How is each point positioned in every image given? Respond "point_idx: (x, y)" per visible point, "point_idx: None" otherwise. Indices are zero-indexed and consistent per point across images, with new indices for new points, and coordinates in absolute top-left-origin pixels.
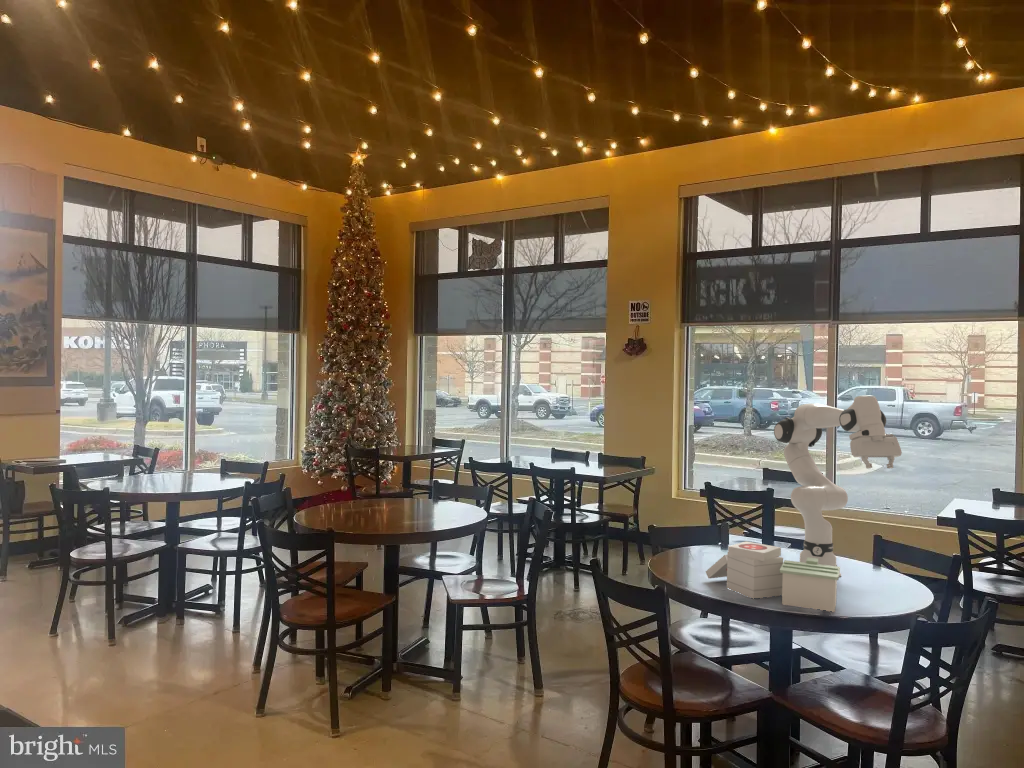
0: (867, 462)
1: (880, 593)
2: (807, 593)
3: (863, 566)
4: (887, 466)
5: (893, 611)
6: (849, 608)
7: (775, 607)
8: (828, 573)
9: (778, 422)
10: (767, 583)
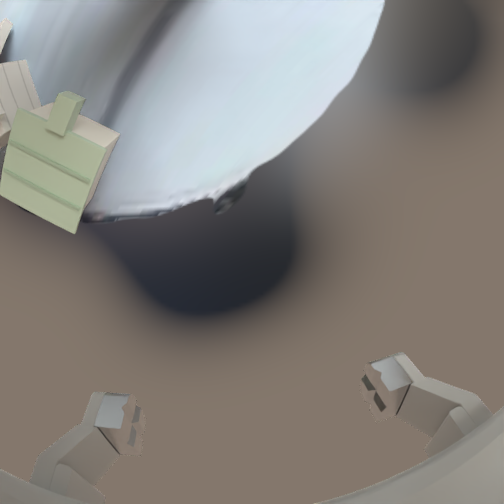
0: (95, 458)
1: (245, 81)
2: None
3: None
4: (378, 375)
5: (192, 188)
6: (123, 175)
7: None
8: (64, 209)
9: None
10: (8, 138)
